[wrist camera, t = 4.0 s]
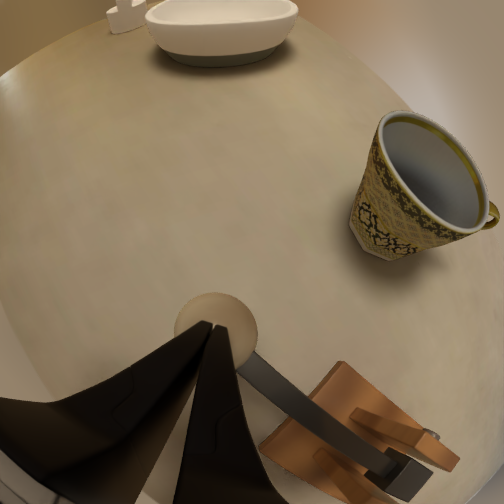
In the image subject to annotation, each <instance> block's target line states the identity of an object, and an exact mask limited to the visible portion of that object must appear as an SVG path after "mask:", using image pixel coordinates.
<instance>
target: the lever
mask: <svg viewBox="0 0 504 504" xmlns="http://www.w3.org/2000/svg"><path fill="white" fill-rule="evenodd" d="M201 320H205V321H208V322H211V323H213V328H214V326H215V325H216V324H218V325H222V326H225V327H227V328H228V333H229V339H230V344H231V349H232V355H233V360H234V365H235V370H236V372H237V373H238V374H239V375H240V376H242V377H243V378H244V379H245V380H246V381H247V382H248V383H250V384H251V385H252V386H253V387H254V388H255V389H257V390H258V391H259V392H260V393H261V394H263V395H264V396H265V397H266V398H267V399H269V400H270V401H271V402H272V403H274V404H275V405H276V406H277V407H279V408H280V409H281V410H282V411H284V412H285V413H286V414H288V415H289V416H290V417H291V418H293V419H294V420H295V421H297V422H298V423H299V424H301V425H302V426H303V427H305V428H306V429H308V430H309V431H310V432H312V433H313V434H314V435H316V436H317V437H319V438H320V439H322V440H323V441H324V442H326V443H327V444H329V445H330V446H332V447H333V448H335V449H336V450H338V451H339V452H341V453H342V454H344V455H345V456H347V457H349V458H350V459H352V460H353V461H355V462H356V463H358V464H360V465H361V466H363V467H365V468H366V469H368V471H367V472H366V473H365V474H364V476H365V477H366V478H367V479H368V480H369V481H371V482H372V483H373V484H374V485H376V486H377V487H378V488H380V489H381V490H382V491H384V492H386V493H388V494H390V495H392V496H394V497H396V498H398V499H401V500H403V501H405V502H409V501H410V500H411V499H412V498H413V497H414V496H415V495H416V494H417V492H418V491H419V490H420V489H421V488H422V487H423V485H424V484H425V483H426V482H427V481H428V479H429V478H430V477H431V476H432V474H433V472H432V471H431V470H429V469H428V468H426V467H425V466H423V465H422V464H420V463H419V462H417V461H416V460H414V459H413V458H411V457H409V456H407V455H405V454H403V453H401V452H399V451H397V450H395V449H393V448H391V447H388V448H387V449H386V450H385V451H384V453H383V452H381V451H380V450H378V449H377V448H375V447H374V446H372V445H371V444H369V443H368V442H367V441H365V440H364V439H362V438H361V437H360V436H358V435H357V434H355V433H354V432H353V431H351V430H350V429H349V428H347V427H346V426H345V425H343V424H342V423H341V422H339V421H338V420H337V419H335V418H334V417H333V416H331V415H330V414H329V413H327V412H326V411H325V410H324V409H322V408H321V407H320V406H319V405H317V404H316V403H315V402H314V401H312V400H311V399H310V398H309V397H307V396H306V395H305V394H304V393H302V392H301V391H300V390H299V389H298V388H296V387H295V386H294V385H293V384H292V383H290V382H289V381H288V380H287V379H286V378H284V377H283V376H282V375H281V374H280V373H279V372H277V371H276V370H275V369H274V368H273V367H272V366H271V365H269V364H268V363H267V362H266V361H265V360H264V359H263V358H261V357H260V356H259V355H258V354H257V353H256V352H255V351H254V350H255V347H256V344H257V338H258V331H257V325H256V321H255V319H254V316H253V315H252V313H251V311H250V310H249V309H248V307H247V306H246V305H245V304H244V303H242V302H241V301H240V300H238V299H237V298H235V297H233V296H231V295H228V294H224V293H206V294H202V295H199V296H197V297H195V298H193V299H192V300H190V301H189V302H188V303H187V304H186V305H185V306H184V307H183V308H182V310H181V311H180V312H179V314H178V316H177V319H176V322H175V327H174V338H175V337H176V336H178V335H179V334H181V333H182V332H184V331H185V330H187V329H188V328H190V327H191V326H193V325H194V324H196V323H197V322H199V321H201Z"/></svg>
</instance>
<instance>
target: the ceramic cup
mask: <svg viewBox="0 0 504 504" xmlns="http://www.w3.org/2000/svg"><path fill="white" fill-rule="evenodd" d="M488 215H491V216H493V217H494V219H493V220H491V221H489V222H487V219H488ZM499 219H500V216H499V211H498V209H497V207H496V206H495V205H494V204H493V203H492V202H490V201H489V197H488V192H487V188H486V184H485V182H484V179H483V177H482V174H481V172H480V170H479V168H478V167H477V165H476V163H475V161H474V160H473V158H472V157H471V155H470V154H469V153H468V151H467V150H466V149H465V148H464V146H463V145H462V144H461V143H460V142H459V141H458V140H457V139H456V138H455V137H454V136H453V135H452V134H451V133H449V132H448V131H447V130H446V129H445V128H443V127H442V126H440V125H439V124H438V123H436V122H434V121H433V120H431V119H429V118H427V117H425V116H422V115H420V114H417V113H414V112H410V111H393V112H390V113H388V114H386V115H385V116H384V117H382V119H381V120H380V122H379V125H378V127H377V130H376V133H375V136H374V138H373V142H372V145H371V148H370V152H369V156H368V161H367V167H366V169H365V172H364V175H363V178H362V181H361V184H360V187H359V189H358V192H357V194H356V197H355V200H354V203H353V207H352V212H351V217H350V221H349V226H350V228H351V230H352V231H353V233H354V235H355V237H356V238H357V240H358V242H359V244H360V245H361V247H362V249H363V250H364V251H366V252H368V253H370V254H373V255H375V256H378V257H380V258H382V259H385V260H387V261H392V260H396V259H399V258H402V257H405V256H408V255H411V254H414V253H417V252H420V251H422V250H425V249H429V248H434V247H438V246H442V245H445V244H448V243H451V242H454V241H457V240H459V239H462V238H464V237H467V236H469V235H471V234H473V233H476V232H478V231H479V230H486V229H490V228H492V227H494V226H495V225H496V224H497V223H498V222H499Z"/></svg>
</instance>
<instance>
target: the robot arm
mask: <svg viewBox="0 0 504 504" xmlns="http://www.w3.org/2000/svg"><path fill="white" fill-rule="evenodd" d="M196 382H197V384H196ZM195 384H196V389H195V394H194V399H193V404H192V409H191V414H190V419H189V424H188V429H187V434H186V440H185V445H184V451H183V457H182V462H181V467H180V472H179V477H178V481H177V485H176V490H175V494H174V499H173V503H172V504H289V503H288V502H287V501H286V500H285V499H284V498H283V497H282V496H281V495H280V494H279V493H278V492H277V491H276V489H275V488H274V486H273V485H272V483H271V481H270V479H269V477H268V475H267V473H266V471H265V468H264V466H263V464H262V462H261V459H260V457H259V455H258V452H257V450H256V447H255V445H254V442H253V440H252V437H251V434H250V431H249V428H248V425H247V421H246V417H245V413H244V409H243V405H242V400H241V395H240V390H239V385H238V380H237V375H236V370H235V365H234V360H233V355H232V349H231V344H230V339H229V333H228V328H227V327H225V326H222V325H218V324H216V325H215V326H214V328H213V323H211V322H208V321H205V320H201V321H199V322H197V323H196V324H194V325H193V326H191V327H190V328H188V329H187V330H185V331H184V332H182V333H181V334H179V335H178V336H176V337H175V338H173V339H172V340H170V341H169V342H167V343H165V344H164V345H162V346H161V347H159V348H158V349H156V350H155V351H153V352H152V353H150V354H148V355H147V356H145V357H144V358H142V359H141V360H139V361H137V362H136V363H134V364H133V365H131V368H130V367H128V368H126V369H124V370H123V371H121V372H120V373H118V374H116V375H114V376H113V377H111V378H109V379H107V380H105V381H103V382H101V383H99V384H97V385H95V386H93V387H90V388H88V389H86V390H83V391H81V392H79V393H76V394H74V395H72V396H69V397H67V398H64V399H62V400H59V401H55V402H47V403H42V402H31V401H22V400H15V399H8V398H2V397H0V504H135V502H136V500H137V498H138V496H139V494H140V492H141V490H142V488H143V486H144V485H145V483H146V481H147V478H148V477H149V475H150V473H151V471H152V469H153V467H154V465H155V463H156V461H157V459H158V457H159V455H160V453H161V451H162V450H163V448H164V446H165V444H166V442H167V440H168V438H169V436H170V434H171V432H172V430H173V428H174V426H175V424H176V422H177V420H178V418H179V416H180V414H181V412H182V410H183V408H184V406H185V404H186V402H187V400H188V398H189V396H190V394H191V393H192V391H193V389H194V386H195Z"/></svg>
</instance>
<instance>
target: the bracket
mask: <svg viewBox="0 0 504 504" xmlns="http://www.w3.org/2000/svg"><path fill="white" fill-rule="evenodd" d="M308 397H309V398H310V399H311V400H312V401H314V402H315V403H316V404H317V405H319V406H320V407H321V408H322V409H324V410H325V411H326V412H327V413H329V414H330V415H331V416H333V417H334V418H335V419H337V420H338V421H339V422H341V423H342V424H343V425H345V426H346V427H347V428H349V429H350V430H351V431H353V432H354V433H355V434H357V435H358V436H360V437H361V438H362V439H364V440H365V441H367V442H368V443H369V444H371V445H372V446H374V447H375V448H377V449H378V450H380V451H381V452H383V453H384V451H385V450H386V449H387V448H388V447H391V448H393V449H395V450H397V451H399V452H401V453H403V454H408V455H410V456H412V457H414V458H417V459H419V460H421V461H423V462H425V463H428V464H430V465H432V466H435V467H437V468H440V469H442V470H445V471H447V472H451V471H452V470H453V468H454V467H455V466H456V464H457V463H458V461H459V460H460V458H459V457H458V456H457V455H456V454H454V453H453V452H452V451H451V450H449V449H448V448H447V447H445V446H444V445H443V444H442V443H440V442H439V439H440V436H439V435H438V434H437V433H435V432H433V431H431V430H429V429H426V428H423V427H422V426H421V425H419V424H418V423H417V422H416V421H414V420H413V419H412V418H411V417H410V416H408V415H407V414H406V413H405V412H404V411H402V410H401V409H400V408H399V407H398V406H396V405H395V404H394V403H393V402H392V401H390V400H389V399H388V398H387V397H386V396H384V395H383V394H382V393H381V392H380V391H378V390H377V389H376V388H375V387H374V386H373V385H371V384H370V383H369V382H368V381H367V380H366V379H364V378H363V377H362V376H361V375H360V374H359V373H357V372H356V371H355V370H354V369H353V368H352V367H350V366H349V365H348V364H347V363H346V362H345V361H338V362H337V363H336V365H335V366H334V367H333V368H332V370H331V371H330V372H329V373H328V374H327V376H326V377H325V378H324V379H323V380H322V381H321V383H320V384H319V385H318V386H317V387H316V388H315V389H314V391H313V392H312V393H311V394H310V395H309V396H308ZM259 450H260V452H261V453H263V454H264V455H266V456H267V457H268V458H270V459H271V460H273V461H274V462H276V463H277V464H279V465H280V466H282V467H283V468H285V469H286V470H288V471H289V472H291V473H293V474H294V475H296V476H297V477H299V478H301V479H302V480H304V481H306V482H307V483H309V484H311V485H313V486H314V487H316V488H318V489H320V490H322V491H323V492H325V493H327V494H329V495H331V496H333V497H335V498H337V499H339V500H341V501H343V502H345V503H347V504H399V503H398V502H396V501H395V500H394V499H392V498H391V497H390V496H389V495H387V494H386V493H385V492H383V491H382V490H381V489H380V488H378V487H377V486H376V485H374V484H373V483H372V482H371V481H369V480H368V479H367V478H366V477H365V476H364V474H365V473H366V472H367V471H368V469H366V468H365V467H363V466H361V465H360V464H358V463H356V462H355V461H353V460H352V459H350V458H349V457H347V456H345V455H344V454H342V453H341V452H339V451H338V450H336V449H335V448H333V447H332V446H330V445H329V444H327V443H326V442H324V441H323V440H322V439H320V438H319V437H317V436H316V435H314V434H313V433H312V432H310V431H309V430H308V429H306V428H305V427H303V426H302V425H301V424H299V423H298V422H297V421H295V420H294V419H293V418H291V417H290V416H289V417H288V418H287V419H286V420H285V421H284V422H283V423H282V424H281V425H280V426H279V427H278V428H277V429H276V430H275V431H274V432H273V433H272V434H271V435H270V436H269V437H268V438H267V439H266V440H265V441H264V442H263V443H261V444H260V445H259Z"/></svg>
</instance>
